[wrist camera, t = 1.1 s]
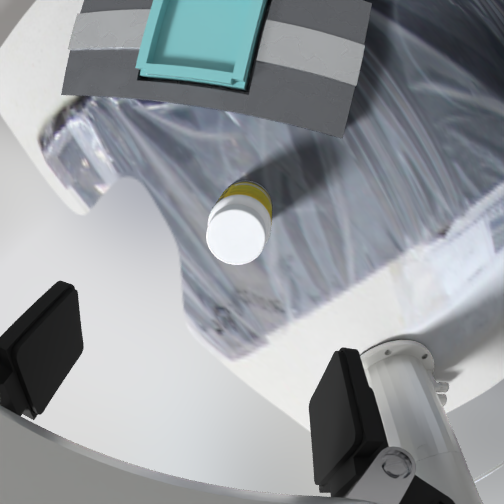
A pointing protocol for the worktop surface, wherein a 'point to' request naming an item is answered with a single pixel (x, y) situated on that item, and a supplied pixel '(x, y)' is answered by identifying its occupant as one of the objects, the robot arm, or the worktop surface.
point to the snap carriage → (202, 41)
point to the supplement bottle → (240, 223)
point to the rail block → (262, 72)
